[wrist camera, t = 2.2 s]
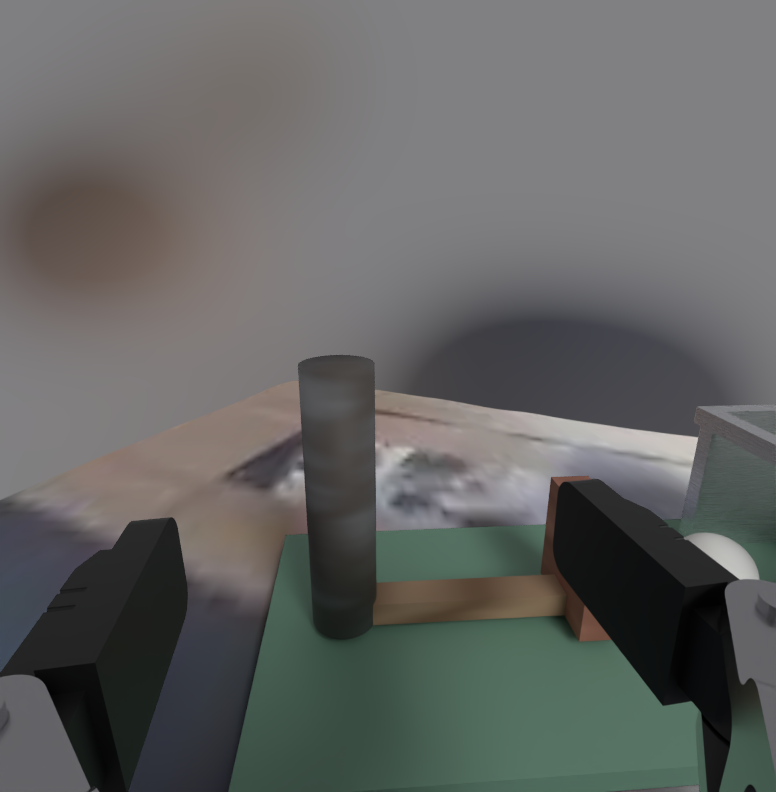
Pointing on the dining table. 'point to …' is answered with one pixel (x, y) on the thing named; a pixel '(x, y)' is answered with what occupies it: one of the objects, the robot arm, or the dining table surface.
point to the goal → (733, 474)
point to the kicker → (356, 526)
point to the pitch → (454, 689)
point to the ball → (726, 554)
